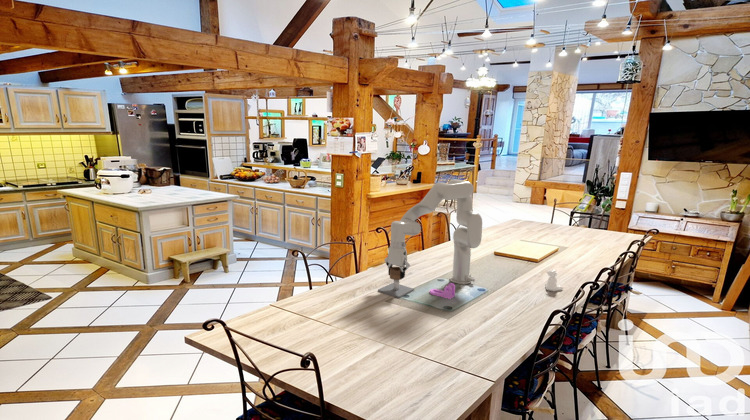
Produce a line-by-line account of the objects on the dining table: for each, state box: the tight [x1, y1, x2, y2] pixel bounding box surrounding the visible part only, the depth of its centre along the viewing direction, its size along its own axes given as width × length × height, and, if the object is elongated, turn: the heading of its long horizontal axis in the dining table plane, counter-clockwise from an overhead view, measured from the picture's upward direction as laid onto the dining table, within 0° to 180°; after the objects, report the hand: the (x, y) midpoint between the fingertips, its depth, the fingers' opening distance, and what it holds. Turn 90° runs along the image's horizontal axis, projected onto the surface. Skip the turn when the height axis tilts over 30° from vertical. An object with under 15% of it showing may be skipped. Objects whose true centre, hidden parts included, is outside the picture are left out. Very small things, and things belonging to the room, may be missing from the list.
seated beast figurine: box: [544, 268, 564, 292], centre depth 226 cm, size 10×9×12 cm
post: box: [377, 280, 415, 299], centre depth 220 cm, size 14×14×7 cm
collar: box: [389, 266, 404, 281], centre depth 219 cm, size 7×7×5 cm
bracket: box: [429, 282, 456, 300], centre depth 216 cm, size 13×6×7 cm, turn 56°
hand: (396, 276), depth 219 cm, fingers closed on collar, 7 cm apart
